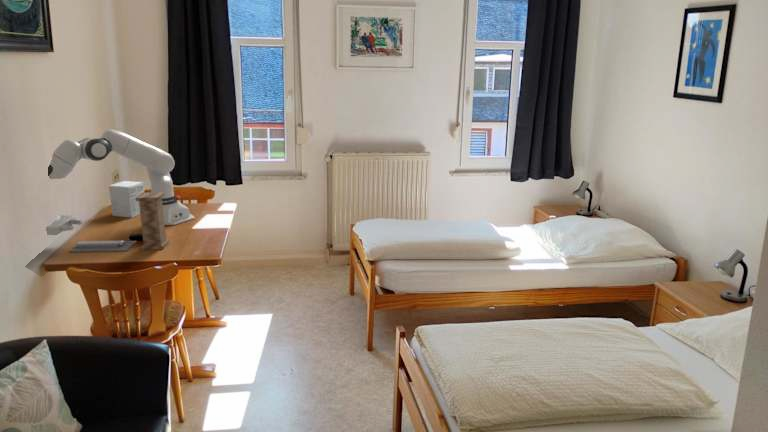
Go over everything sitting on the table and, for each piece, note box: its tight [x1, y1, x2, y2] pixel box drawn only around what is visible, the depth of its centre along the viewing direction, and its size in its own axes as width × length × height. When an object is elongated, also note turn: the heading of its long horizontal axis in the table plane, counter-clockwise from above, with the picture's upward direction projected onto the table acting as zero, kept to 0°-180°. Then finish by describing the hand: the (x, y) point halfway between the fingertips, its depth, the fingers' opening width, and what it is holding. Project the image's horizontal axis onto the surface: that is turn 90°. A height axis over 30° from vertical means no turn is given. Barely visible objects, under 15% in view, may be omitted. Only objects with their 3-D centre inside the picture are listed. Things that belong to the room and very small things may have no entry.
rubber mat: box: [68, 240, 138, 253], centre depth 290 cm, size 26×14×1 cm, turn 93°
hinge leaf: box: [75, 239, 126, 248], centre depth 289 cm, size 21×4×2 cm, turn 93°
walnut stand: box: [136, 192, 170, 251], centre depth 288 cm, size 10×10×25 cm
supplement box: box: [108, 180, 145, 218], centre depth 344 cm, size 13×13×18 cm
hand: (76, 225), depth 286 cm, fingers open, 8 cm apart
